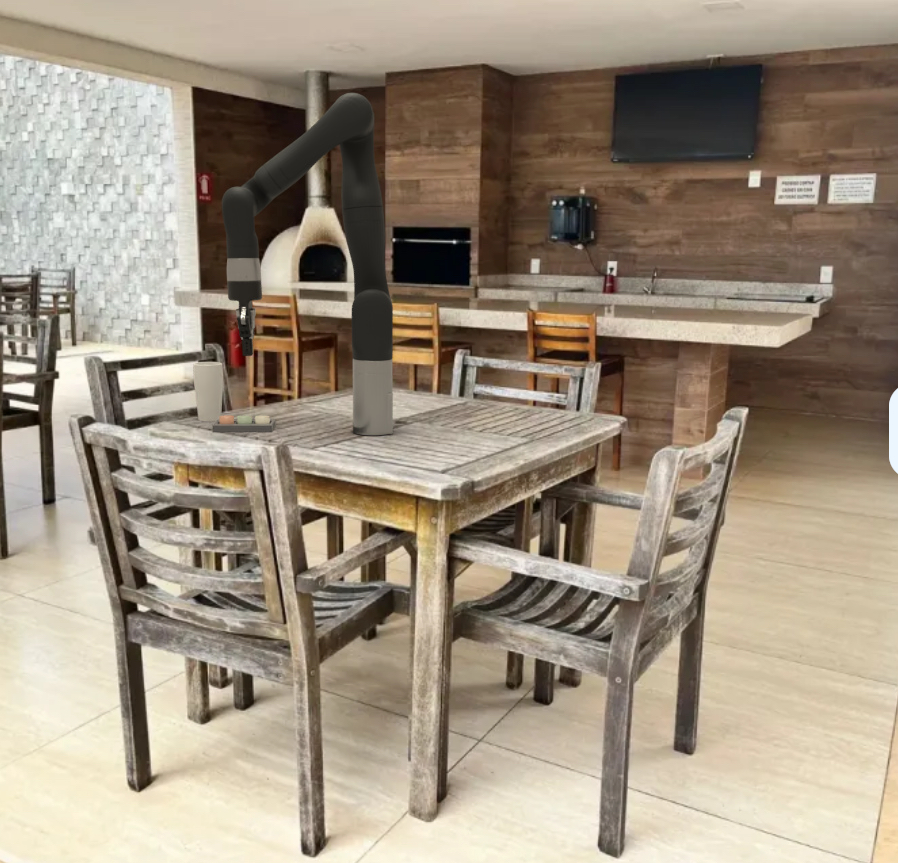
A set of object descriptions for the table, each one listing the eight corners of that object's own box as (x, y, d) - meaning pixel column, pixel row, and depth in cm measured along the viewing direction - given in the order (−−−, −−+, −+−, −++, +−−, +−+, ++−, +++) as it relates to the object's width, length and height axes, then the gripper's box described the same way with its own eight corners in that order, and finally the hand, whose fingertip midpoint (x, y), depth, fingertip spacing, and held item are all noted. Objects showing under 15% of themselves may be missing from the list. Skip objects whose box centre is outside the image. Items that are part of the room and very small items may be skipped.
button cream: (270, 432, 205) (270, 415, 205) (269, 435, 202) (268, 417, 202) (256, 432, 205) (256, 415, 204) (254, 435, 202) (254, 417, 201)
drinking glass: (195, 428, 211) (193, 365, 208) (195, 423, 217) (193, 361, 214) (225, 427, 213) (222, 364, 210) (224, 422, 219) (222, 361, 216)
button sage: (253, 432, 205) (252, 415, 204) (251, 435, 202) (250, 417, 201) (238, 432, 205) (238, 415, 204) (236, 435, 202) (236, 417, 201)
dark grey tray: (275, 431, 208) (275, 419, 207) (272, 438, 200) (271, 425, 200) (218, 432, 207) (218, 419, 206) (212, 438, 199) (212, 425, 198)
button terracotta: (235, 432, 205) (234, 415, 204) (233, 435, 202) (232, 417, 201) (221, 432, 204) (220, 415, 204) (218, 435, 201) (218, 417, 201)
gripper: (258, 279, 195) (261, 358, 199) (264, 278, 208) (267, 352, 211) (223, 279, 195) (227, 359, 198) (231, 278, 207) (235, 353, 211)
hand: (248, 355), depth 205 cm, fingers closed
